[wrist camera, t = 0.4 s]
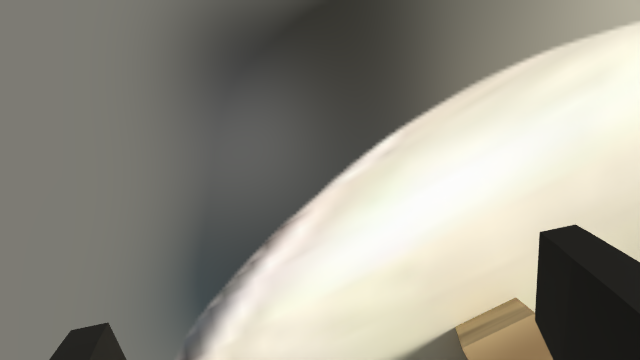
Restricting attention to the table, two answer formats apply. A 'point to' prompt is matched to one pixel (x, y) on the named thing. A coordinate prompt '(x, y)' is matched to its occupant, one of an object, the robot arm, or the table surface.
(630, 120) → the table surface
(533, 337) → the oak block
